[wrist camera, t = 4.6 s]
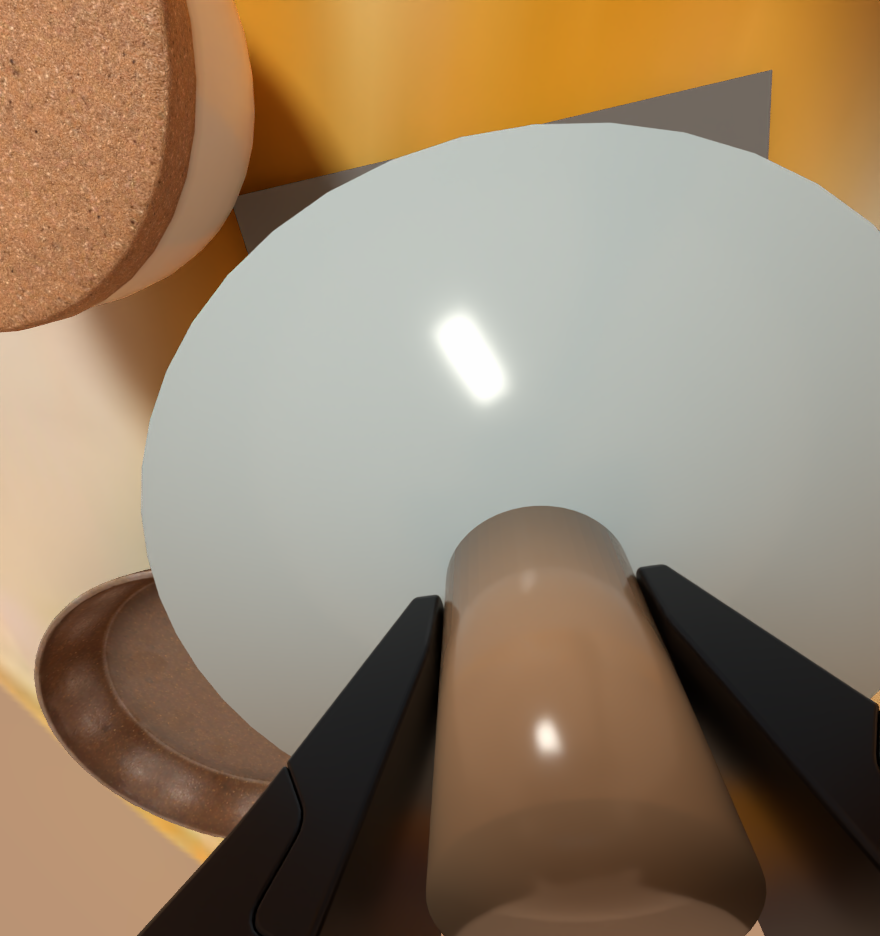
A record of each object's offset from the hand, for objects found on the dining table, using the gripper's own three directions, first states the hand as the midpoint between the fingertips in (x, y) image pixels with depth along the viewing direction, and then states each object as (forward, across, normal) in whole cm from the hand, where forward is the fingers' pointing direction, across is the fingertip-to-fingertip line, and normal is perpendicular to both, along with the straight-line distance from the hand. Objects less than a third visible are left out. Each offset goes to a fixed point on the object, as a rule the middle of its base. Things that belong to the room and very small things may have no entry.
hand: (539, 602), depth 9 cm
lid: (+1, 0, 0) cm, 1 cm away
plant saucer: (+12, +14, +13) cm, 22 cm away
